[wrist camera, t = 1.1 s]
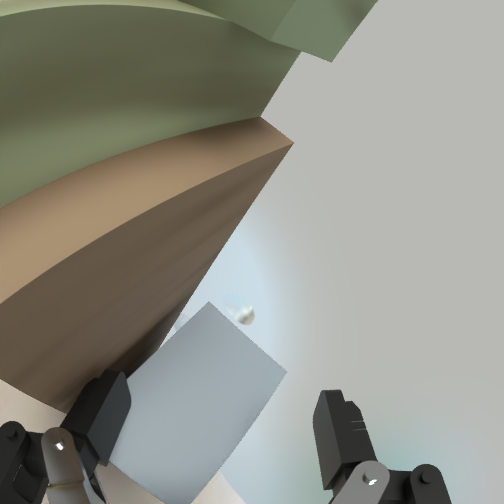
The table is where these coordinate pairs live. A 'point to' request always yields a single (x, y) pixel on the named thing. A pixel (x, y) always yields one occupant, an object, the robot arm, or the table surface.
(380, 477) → the robot arm
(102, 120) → the green piece
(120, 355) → the wooden square pillar
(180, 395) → the grey upright block
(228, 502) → the table surface
